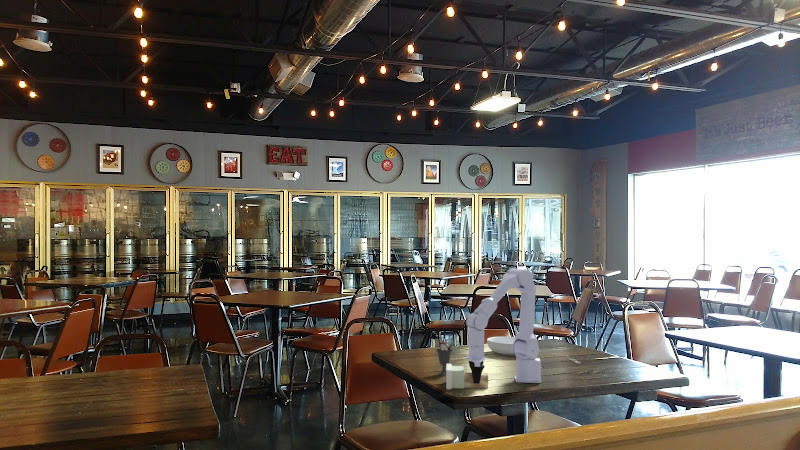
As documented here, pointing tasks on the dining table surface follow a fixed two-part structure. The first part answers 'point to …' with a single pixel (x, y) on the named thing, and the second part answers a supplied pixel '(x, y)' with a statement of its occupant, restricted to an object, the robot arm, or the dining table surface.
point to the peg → (469, 383)
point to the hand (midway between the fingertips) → (476, 381)
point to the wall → (449, 376)
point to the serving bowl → (502, 345)
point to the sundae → (444, 355)
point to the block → (457, 376)
